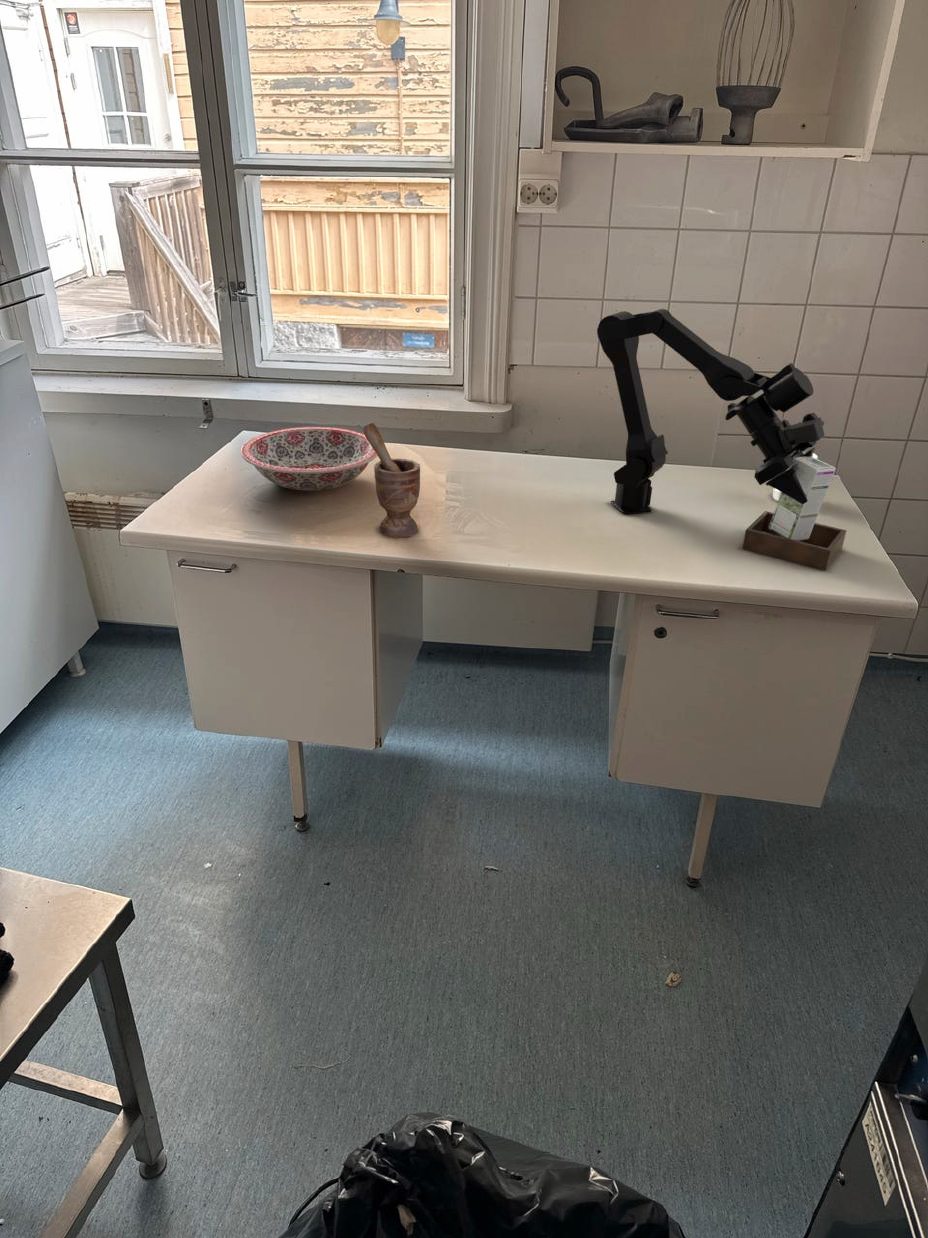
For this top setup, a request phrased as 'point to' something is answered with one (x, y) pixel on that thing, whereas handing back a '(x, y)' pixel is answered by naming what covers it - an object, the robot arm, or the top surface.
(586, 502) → the top surface
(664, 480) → the top surface
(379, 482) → the mortar and pestle
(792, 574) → the top surface
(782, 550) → the crate
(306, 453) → the ceramic bowl
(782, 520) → the syrup box
